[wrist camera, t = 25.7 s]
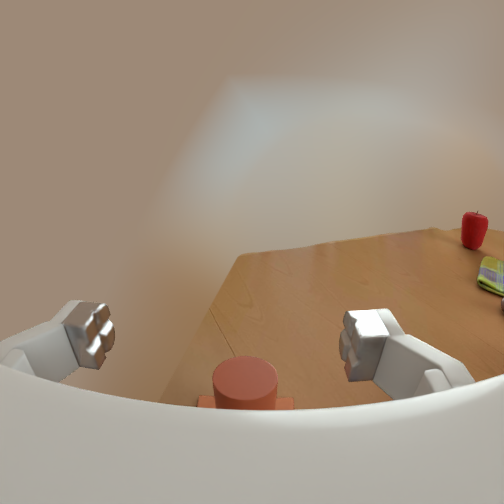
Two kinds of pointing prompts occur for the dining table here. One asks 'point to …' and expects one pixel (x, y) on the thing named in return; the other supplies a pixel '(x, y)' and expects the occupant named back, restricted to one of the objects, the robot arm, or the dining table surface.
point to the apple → (473, 229)
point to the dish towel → (492, 275)
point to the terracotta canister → (245, 384)
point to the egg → (502, 304)
